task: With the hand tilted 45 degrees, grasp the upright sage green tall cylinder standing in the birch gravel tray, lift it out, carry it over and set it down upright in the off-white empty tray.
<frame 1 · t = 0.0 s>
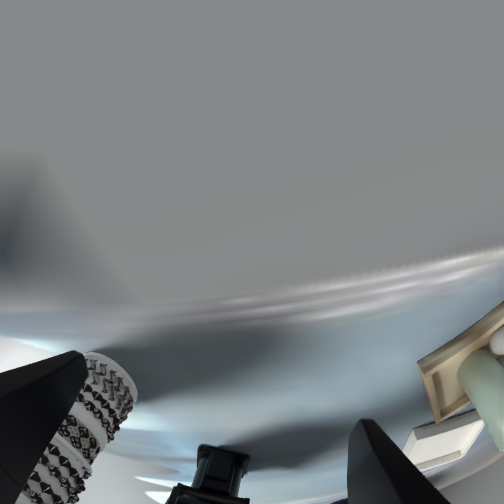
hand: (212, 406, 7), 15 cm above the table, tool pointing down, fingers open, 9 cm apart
pebble 2: (496, 363, 21), point 1 cm above the table, touching gravel tray
sage green tall cylinder: (473, 365, 21), point 1 cm above the table, touching gravel tray
pebble 1: (495, 333, 20), point 1 cm above the table, touching gravel tray
gravel tray: (470, 361, 22), on the table
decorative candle: (108, 380, 28), on the table
empty tray: (439, 440, 25), on the table
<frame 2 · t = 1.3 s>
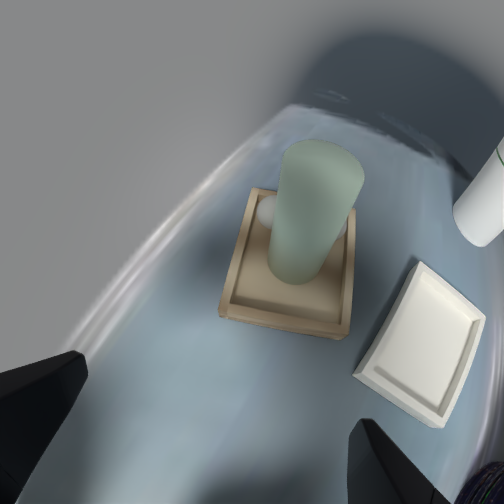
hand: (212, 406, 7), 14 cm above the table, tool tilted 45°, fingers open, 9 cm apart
pebble 2: (326, 233, 26), point 1 cm above the table, touching gravel tray
sage green tall cylinder: (294, 259, 24), point 1 cm above the table, touching gravel tray
cylindrical container: (471, 223, 28), on the table
pebble 1: (272, 222, 26), point 1 cm above the table, touching gravel tray
gravel tray: (292, 263, 25), on the table
empty tray: (424, 347, 21), on the table
storage jar: (478, 499, 12), on the table
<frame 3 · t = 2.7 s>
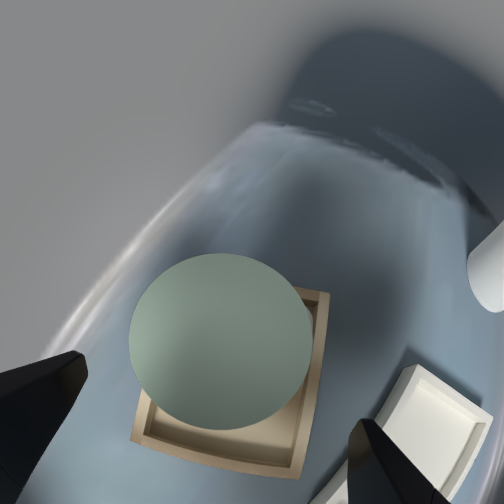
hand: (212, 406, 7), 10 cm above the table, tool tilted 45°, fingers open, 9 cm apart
sage green tall cylinder: (234, 373, 16), point 1 cm above the table, touching gravel tray
cylindrical container: (488, 280, 21), on the table
gravel tray: (234, 374, 17), on the table
empty tray: (408, 465, 13), on the table
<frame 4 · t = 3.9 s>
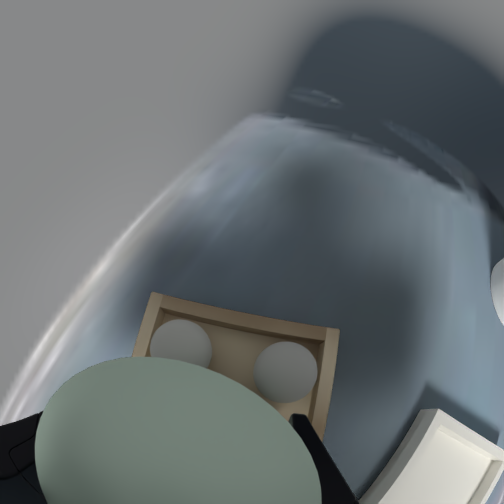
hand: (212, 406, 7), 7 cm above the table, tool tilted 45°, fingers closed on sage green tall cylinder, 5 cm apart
pebble 2: (281, 374, 14), point 1 cm above the table, touching gravel tray
sage green tall cylinder: (219, 426, 12), point 1 cm above the table, touching gravel tray, gripper
pebble 1: (186, 354, 14), point 1 cm above the table, touching gravel tray
gravel tray: (220, 424, 13), on the table
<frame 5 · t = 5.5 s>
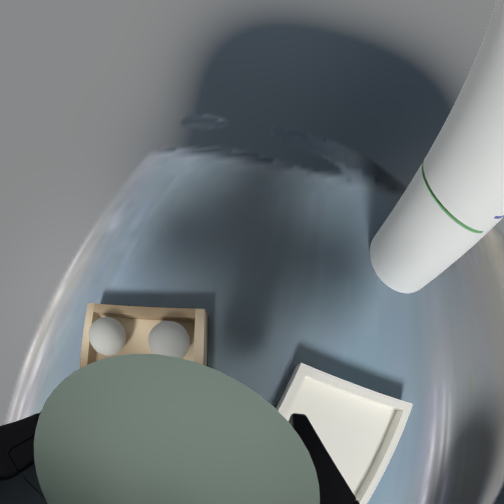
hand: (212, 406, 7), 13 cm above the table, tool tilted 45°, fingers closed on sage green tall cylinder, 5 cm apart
pebble 2: (173, 345, 20), point 1 cm above the table, touching gravel tray
sage green tall cylinder: (219, 425, 12), point 7 cm above the table, touching gripper
cylindrical container: (400, 260, 25), on the table
pebble 1: (115, 340, 20), point 1 cm above the table, touching gravel tray
gravel tray: (144, 385, 19), on the table
empty tray: (321, 454, 17), on the table
when the fingers open (8 cm above the table, at t = 7.4 s): sage green tall cylinder drops 1 cm, resting on empty tray.
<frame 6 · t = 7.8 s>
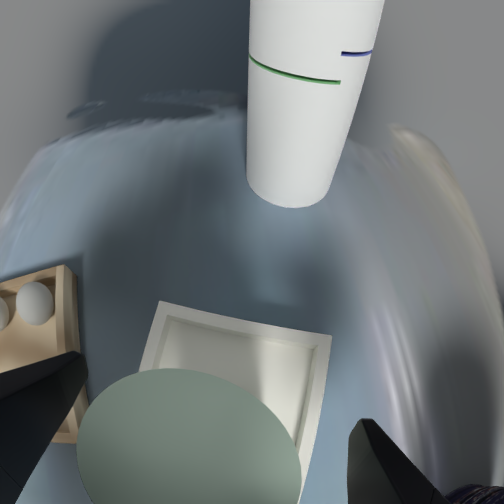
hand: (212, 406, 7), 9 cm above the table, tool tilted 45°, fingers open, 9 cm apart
pebble 2: (46, 310, 16), point 1 cm above the table, touching gravel tray
sage green tall cylinder: (222, 423, 14), point 1 cm above the table, touching empty tray
cylindrical container: (288, 176, 23), on the table
pebble 1: (4, 319, 15), point 1 cm above the table, touching gravel tray
gravel tray: (31, 360, 15), on the table
empty tray: (223, 421, 14), on the table
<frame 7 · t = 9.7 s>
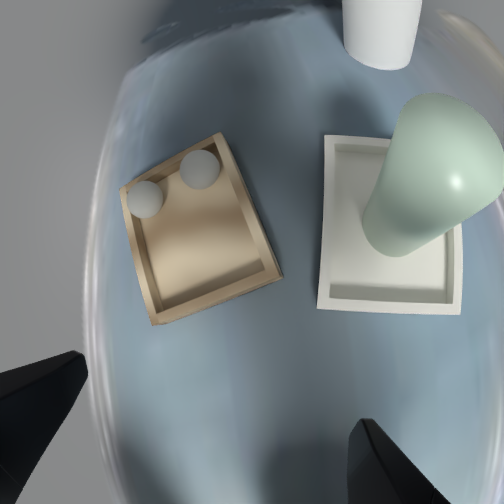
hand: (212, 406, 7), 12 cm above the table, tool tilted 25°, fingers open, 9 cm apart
pebble 2: (207, 177, 22), point 1 cm above the table, touching gravel tray
sage green tall cylinder: (393, 223, 18), point 1 cm above the table, touching empty tray
cylindrical container: (377, 49, 21), on the table
pebble 1: (154, 205, 22), point 1 cm above the table, touching gravel tray
gravel tray: (195, 230, 22), on the table
empty tray: (391, 226, 18), on the table
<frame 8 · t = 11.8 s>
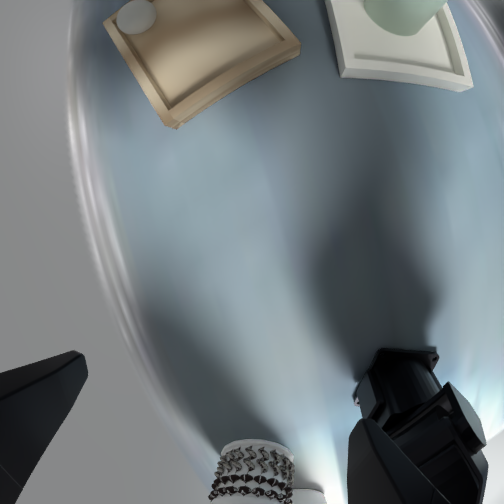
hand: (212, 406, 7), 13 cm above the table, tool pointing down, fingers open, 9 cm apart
bottle: (298, 496, 29), on the table
sage green tall cylinder: (393, 12, 13), point 1 cm above the table, touching empty tray
pebble 1: (145, 24, 15), point 1 cm above the table, touching gravel tray
gravel tray: (195, 33, 16), on the table
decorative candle: (258, 456, 26), on the table
empty tray: (389, 16, 13), on the table
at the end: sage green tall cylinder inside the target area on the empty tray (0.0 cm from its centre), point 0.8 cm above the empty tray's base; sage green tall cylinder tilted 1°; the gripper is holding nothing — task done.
